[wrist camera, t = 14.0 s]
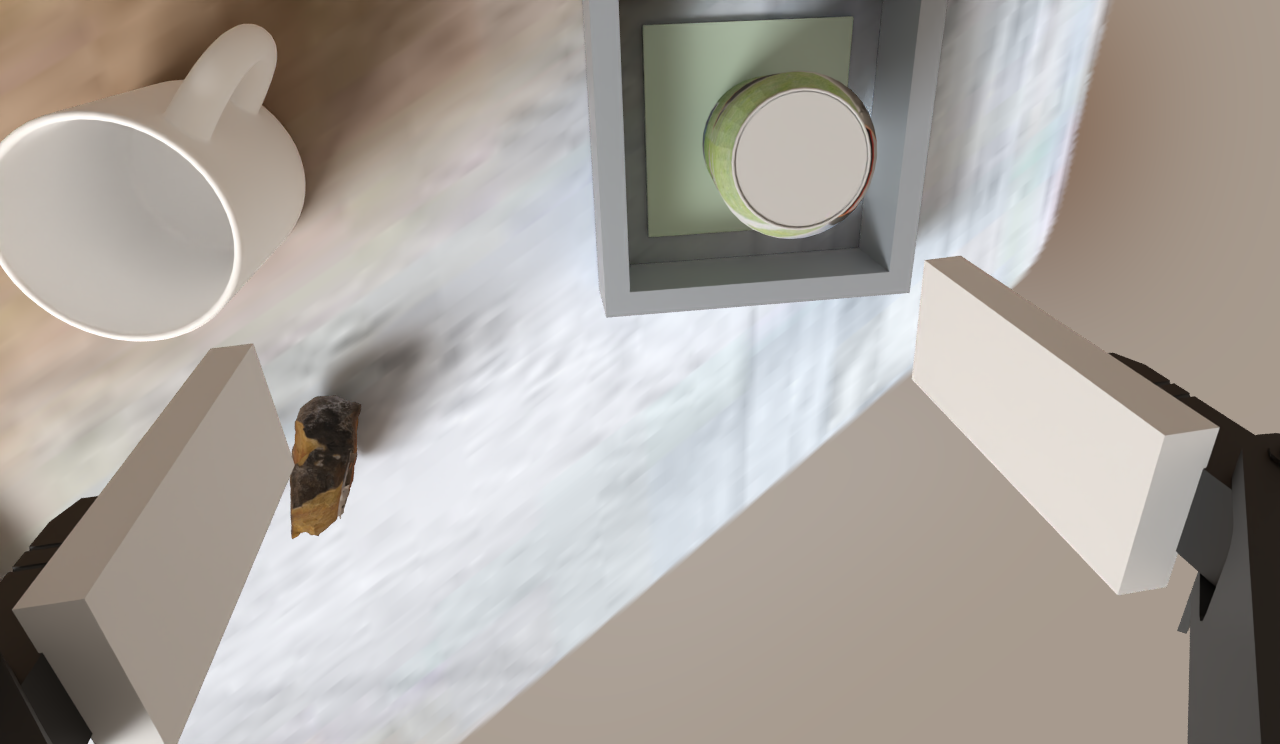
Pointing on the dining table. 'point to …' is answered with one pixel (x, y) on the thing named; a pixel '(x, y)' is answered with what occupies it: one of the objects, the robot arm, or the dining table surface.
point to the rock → (322, 462)
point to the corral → (683, 189)
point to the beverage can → (790, 152)
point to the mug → (152, 197)
